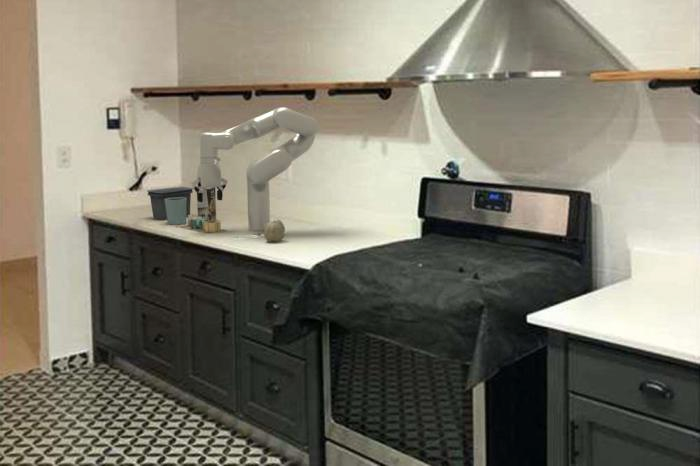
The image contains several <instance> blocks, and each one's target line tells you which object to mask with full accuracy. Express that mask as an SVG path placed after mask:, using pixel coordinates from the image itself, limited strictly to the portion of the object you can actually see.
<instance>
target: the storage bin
mask: <svg viewBox="0 0 700 466" xmlns="http://www.w3.org/2000/svg"><path fill="white" fill-rule="evenodd" d="M193 191H194V189H193V187H188V186H175V187H174V186H173V187H165V188H155V189H148V190H146V192H147V196H149V198H150V206H151V212H152V217H153V219H155V220H159V221H166V220H167V213H166V206H165V199H167V198H176V197H183V198H186V218H188V215H191V197H192V196H191V194H193Z"/></svg>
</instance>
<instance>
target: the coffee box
mask: <svg viewBox="0 0 700 466" xmlns="http://www.w3.org/2000/svg"><path fill="white" fill-rule="evenodd" d="M201 193H203V202H198V200H197V199H196V201H197V202H196V206H197V217H202V218H206V219H208V221H217V201H216V200H217V191H216V187H214V188H204V189H203V190H202V192H201Z"/></svg>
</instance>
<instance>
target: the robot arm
mask: <svg viewBox="0 0 700 466" xmlns="http://www.w3.org/2000/svg"><path fill="white" fill-rule="evenodd" d="M282 128H283V129H285V130H288V131H290V132H294V133H295V135H294V136H293V137H292V138H290V139H288V140H287V141H285V142H284V143H282V144H281V145H279V146H277V147H276V148H273V149H272V150H271V151H269V153H268V154H266V155H265V156H264V157H262V158H261V159H256V160H253V161H251V162H250V163H249V164H248V165H247V167H246V173H245V174H246V191H247V220H248V221H247V222H248V225H247V226H248V231H252V232H261V233H259V235H263V234H262V233H263V232H264V228H265V226H266V224H268V223H269V222H271V210H270V208H271V206H270V180H273V178H276V177H277V176H278V175H281V174H282V173H284V172H285V171H286V170H288V168H290V166H291V164H292V162H293V161H295V160H296V159H298V158H300V157H301V156H302V155H304V154H306V153H307V152H308V151H309V150H310V148H311V147H312V145H313V144H314V141H315V138H316V134H317V133H318V131H319V129H320V128H319V123H318V120H317V119H316V118H314V117H312V116H309V115H307V114H303V113H301V112H298V111H296V110H293V109H290V108H289V107H284V106H280V107H277V108H275V109H272V110H269V111H268V112H266V113H262V114H261V115H259V116H255V117H253V118H251V119H249V120H247V121H246V122H243V123H241V124H239V125H236V126H234V127H231V128H229V129H226V130H224V131H222V132H218V133H216V132H211V131H210V132H205V131H204V132H201V133H200V134H199V159H200V161H199V164H198V166H197V172H196V179H195V180H193V181H192V182H191V183H190V184H191V186H192V187H191V188H193V189H192V190H193V191H195V193H196V201H197V200H198V202H203V193H201V192H202V190H203V189H204V188H215V189H216V200H217V201H223V191H224V189H225V188H226V187H227V184H228V180H227V179H225V178H224V177H222V171H221V167H220V163H219V162H221V157H220V158H219V151H218V150H225V151H229V150H232V149H233V148H234V147H235V146H237V145H239V144H241V143H244V142H247V141H249V140H254V139H259V138H262V137H264V136H266V135H268V134H271V133H273V132H275V131H278V130H280V129H282Z"/></svg>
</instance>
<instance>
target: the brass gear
mask: <svg viewBox="0 0 700 466" xmlns="http://www.w3.org/2000/svg"><path fill="white" fill-rule="evenodd" d="M221 229H222V223H221V221H220V220H216V221H204V222H203V232H212V233H219V231H220V232H222V231H221Z"/></svg>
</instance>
